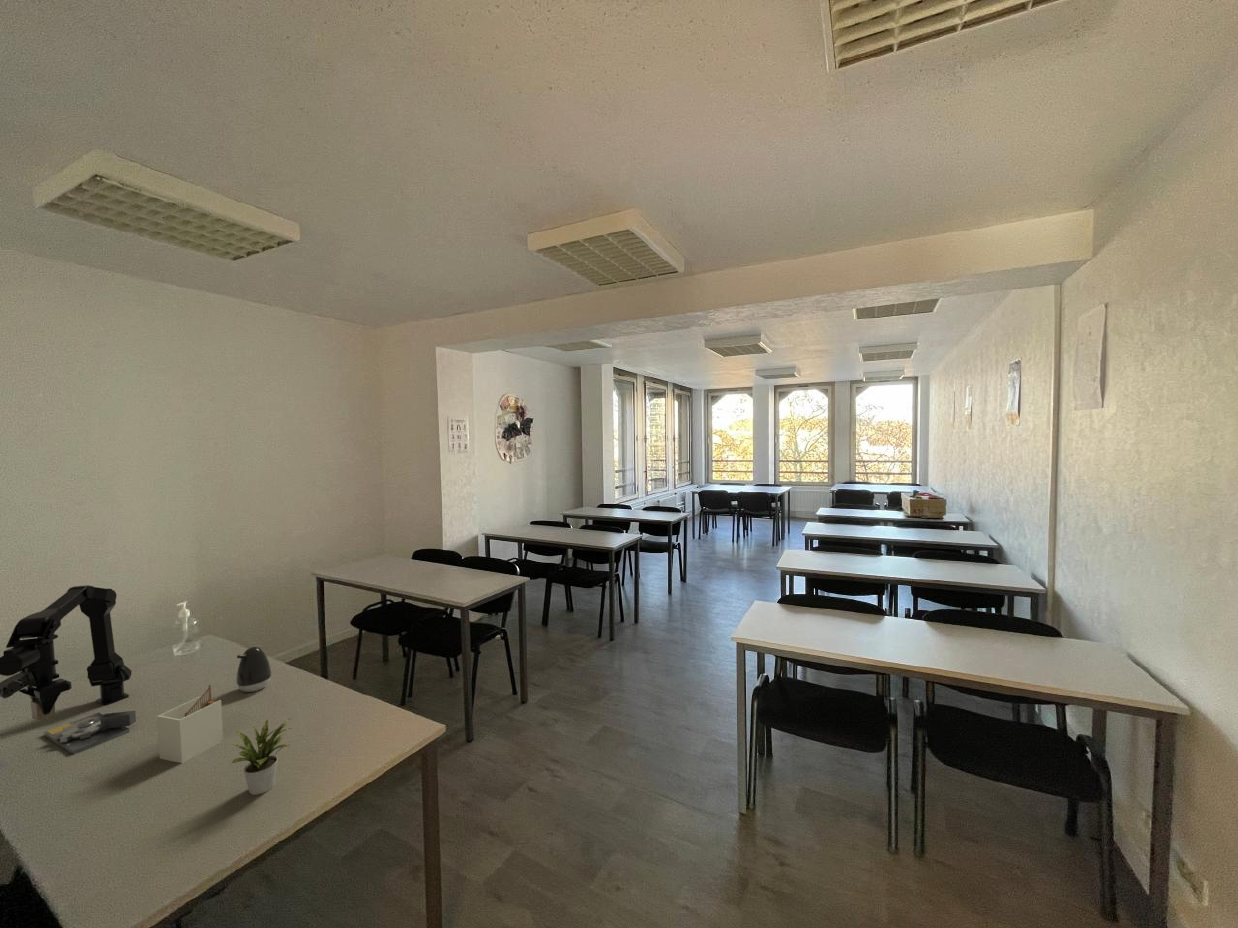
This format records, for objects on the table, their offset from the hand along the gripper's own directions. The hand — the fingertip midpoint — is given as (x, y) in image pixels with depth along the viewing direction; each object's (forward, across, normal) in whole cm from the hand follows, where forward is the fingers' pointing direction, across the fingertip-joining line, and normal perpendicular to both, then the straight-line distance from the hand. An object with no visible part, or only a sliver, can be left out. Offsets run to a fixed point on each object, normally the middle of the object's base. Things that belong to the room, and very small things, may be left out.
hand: (43, 712), depth 142 cm
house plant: (+11, +78, +13) cm, 80 cm away
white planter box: (+11, +41, +16) cm, 45 cm away
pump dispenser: (+11, +20, +45) cm, 50 cm away
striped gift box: (+1, 0, 0) cm, 1 cm away
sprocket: (+10, +3, +10) cm, 14 cm away
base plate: (+11, +1, +8) cm, 14 cm away
